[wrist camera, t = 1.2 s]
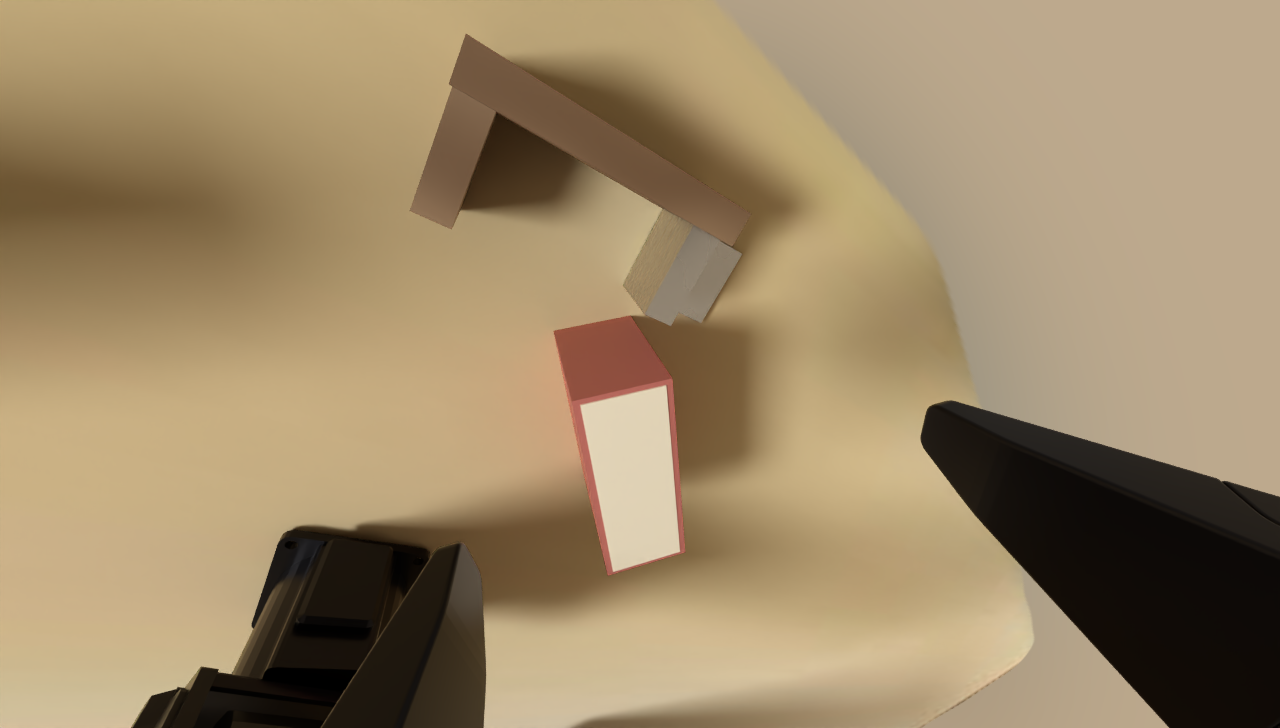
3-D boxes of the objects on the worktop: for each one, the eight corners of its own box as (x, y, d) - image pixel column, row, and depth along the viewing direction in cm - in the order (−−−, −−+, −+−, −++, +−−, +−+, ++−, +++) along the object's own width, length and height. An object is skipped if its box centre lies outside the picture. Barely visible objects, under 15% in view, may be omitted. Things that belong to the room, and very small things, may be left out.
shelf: (646, 296, 20) (679, 336, 17) (426, 194, 16) (403, 217, 12) (700, 195, 19) (751, 213, 15) (474, 56, 15) (466, 34, 11)
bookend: (698, 320, 22) (730, 352, 19) (623, 285, 20) (644, 314, 17) (739, 252, 21) (779, 274, 18) (663, 208, 19) (693, 224, 16)
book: (647, 464, 25) (685, 553, 20) (585, 481, 25) (607, 576, 19) (629, 314, 21) (672, 378, 16) (553, 330, 20) (571, 402, 15)
